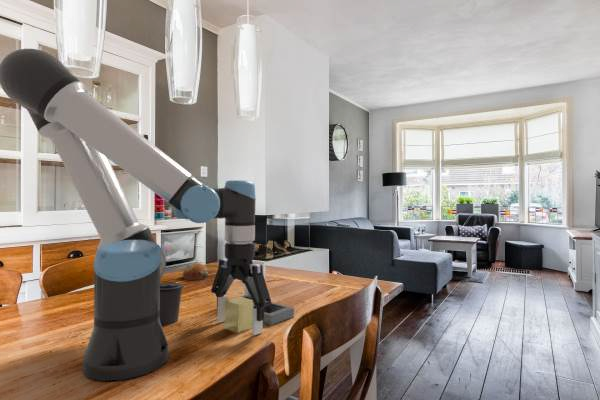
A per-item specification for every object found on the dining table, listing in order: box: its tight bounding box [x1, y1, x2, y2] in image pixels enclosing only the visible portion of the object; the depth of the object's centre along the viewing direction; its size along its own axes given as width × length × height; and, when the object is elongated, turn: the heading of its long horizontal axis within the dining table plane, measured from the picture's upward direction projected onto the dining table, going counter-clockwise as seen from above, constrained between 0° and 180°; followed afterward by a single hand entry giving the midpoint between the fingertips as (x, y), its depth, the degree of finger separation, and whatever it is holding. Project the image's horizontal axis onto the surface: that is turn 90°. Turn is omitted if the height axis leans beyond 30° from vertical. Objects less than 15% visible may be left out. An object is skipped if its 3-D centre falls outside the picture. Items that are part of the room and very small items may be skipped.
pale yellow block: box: [224, 296, 253, 334], centre depth 90 cm, size 5×5×7 cm
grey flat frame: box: [228, 294, 295, 326], centre depth 102 cm, size 9×20×2 cm, turn 51°
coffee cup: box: [160, 281, 184, 326], centre depth 95 cm, size 8×8×10 cm
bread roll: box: [182, 262, 210, 281], centre depth 147 cm, size 10×10×8 cm
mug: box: [243, 261, 266, 297], centre depth 116 cm, size 10×7×12 cm, turn 157°
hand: (239, 327), depth 91 cm, fingers open, 12 cm apart
